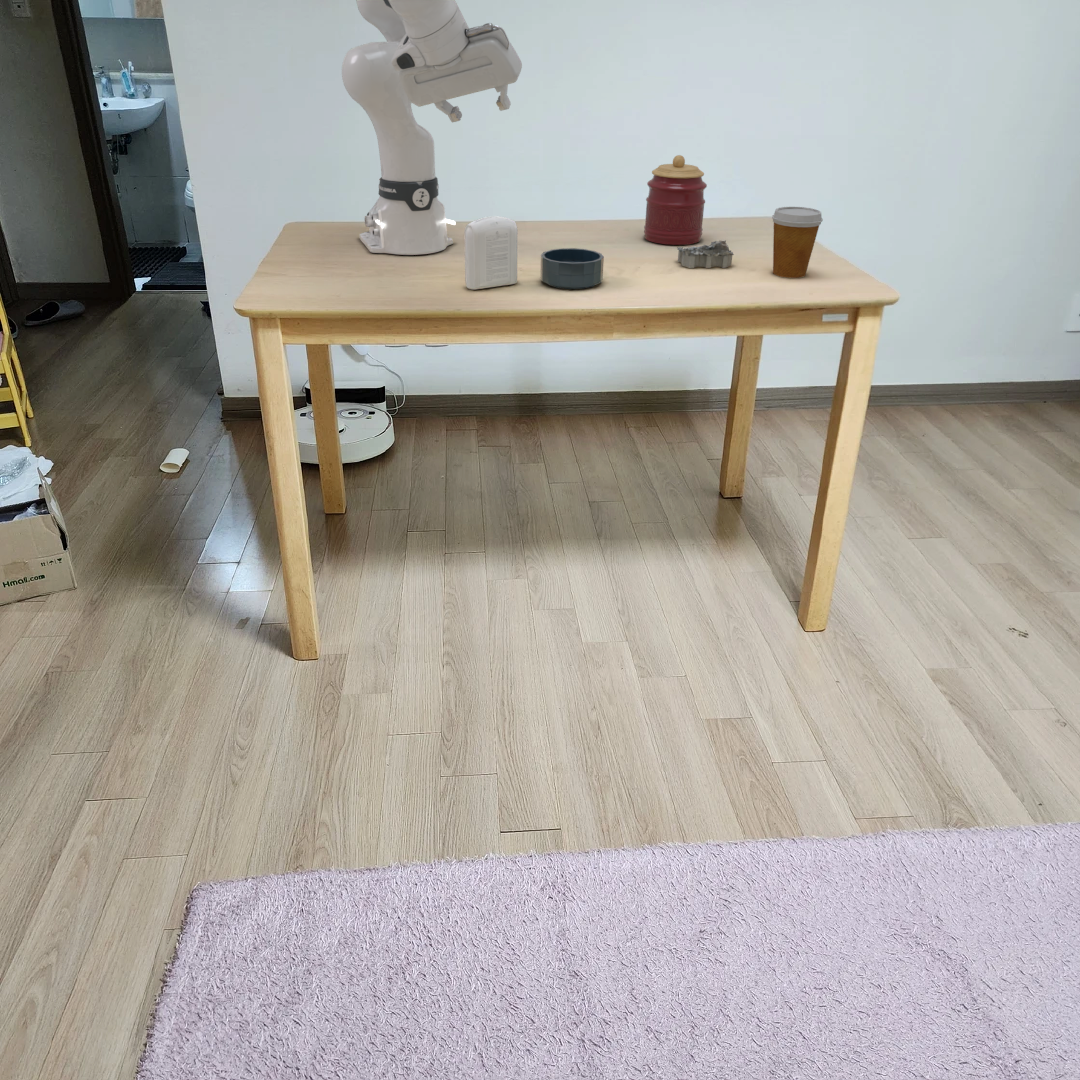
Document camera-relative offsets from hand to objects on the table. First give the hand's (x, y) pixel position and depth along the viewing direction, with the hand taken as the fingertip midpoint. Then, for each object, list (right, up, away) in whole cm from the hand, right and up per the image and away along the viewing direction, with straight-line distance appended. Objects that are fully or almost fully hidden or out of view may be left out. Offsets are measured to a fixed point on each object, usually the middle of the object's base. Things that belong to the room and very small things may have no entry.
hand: (481, 113), depth 155 cm
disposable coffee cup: (+59, -18, +30) cm, 69 cm away
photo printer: (+1, -23, +20) cm, 31 cm away
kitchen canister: (+40, -3, +55) cm, 68 cm away
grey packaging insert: (+43, -15, +36) cm, 58 cm away
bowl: (+16, -22, +23) cm, 35 cm away
